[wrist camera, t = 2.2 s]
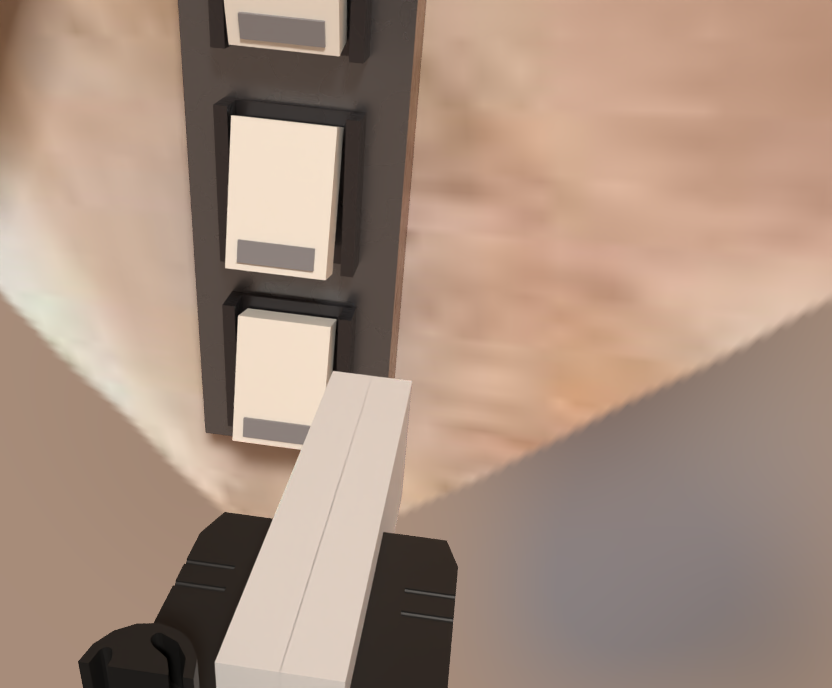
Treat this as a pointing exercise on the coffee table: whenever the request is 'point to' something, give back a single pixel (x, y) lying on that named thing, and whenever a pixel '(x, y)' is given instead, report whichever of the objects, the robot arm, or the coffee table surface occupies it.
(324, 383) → the rocker
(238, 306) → the rocker switch panel
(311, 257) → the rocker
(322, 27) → the rocker
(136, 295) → the coffee table surface
